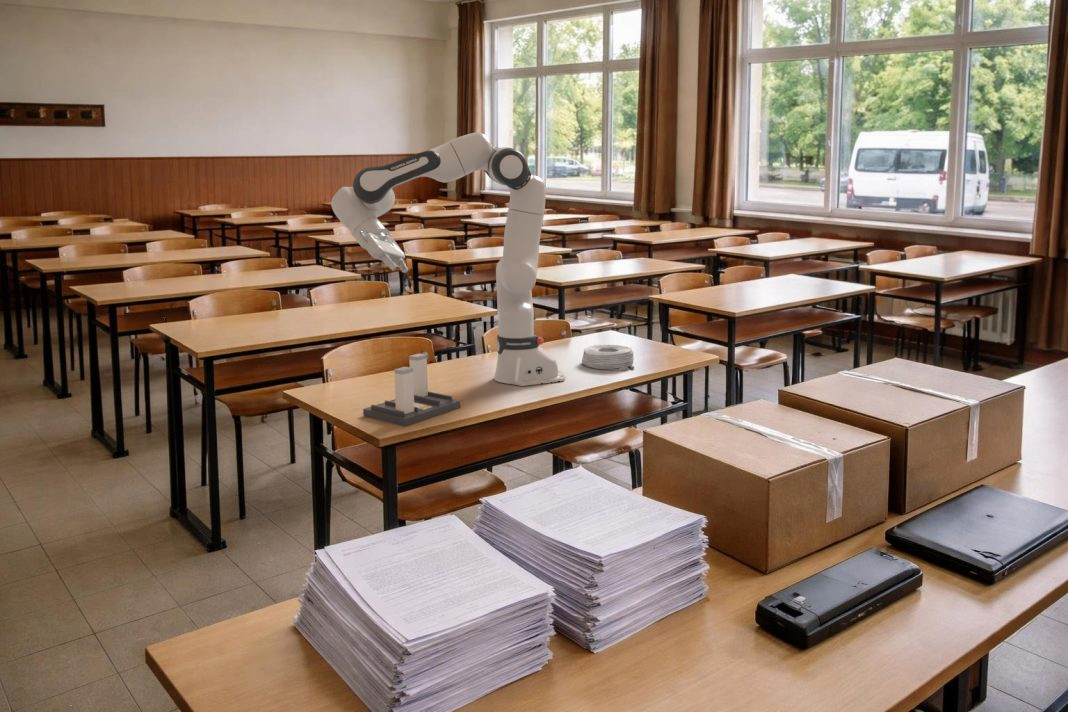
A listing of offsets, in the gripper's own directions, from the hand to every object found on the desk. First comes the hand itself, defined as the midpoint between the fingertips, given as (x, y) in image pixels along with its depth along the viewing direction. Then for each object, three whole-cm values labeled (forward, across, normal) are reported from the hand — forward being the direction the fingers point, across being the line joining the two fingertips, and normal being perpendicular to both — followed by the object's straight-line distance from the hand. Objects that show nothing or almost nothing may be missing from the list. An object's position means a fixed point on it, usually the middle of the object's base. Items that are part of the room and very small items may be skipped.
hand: (400, 269), depth 271 cm
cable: (+56, +56, -22) cm, 82 cm away
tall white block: (+32, -3, +19) cm, 37 cm away
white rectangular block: (+36, -19, +20) cm, 45 cm away
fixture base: (+36, -10, +21) cm, 43 cm away
